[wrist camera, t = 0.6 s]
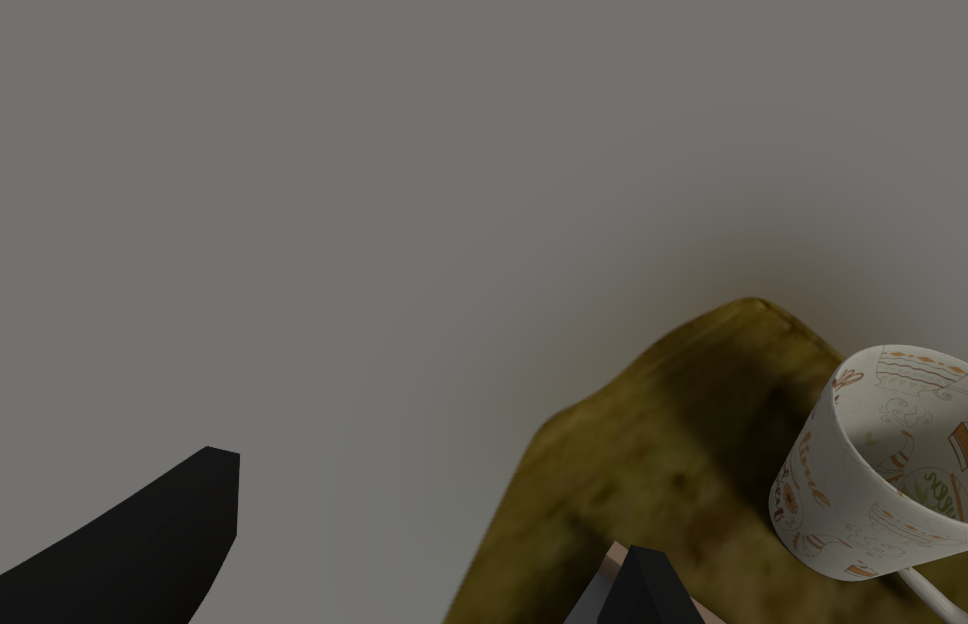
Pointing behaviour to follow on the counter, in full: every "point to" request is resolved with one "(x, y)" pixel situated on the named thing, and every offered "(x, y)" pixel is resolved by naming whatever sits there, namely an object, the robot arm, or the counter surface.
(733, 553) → the counter surface
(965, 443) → the mug
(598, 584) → the bay
